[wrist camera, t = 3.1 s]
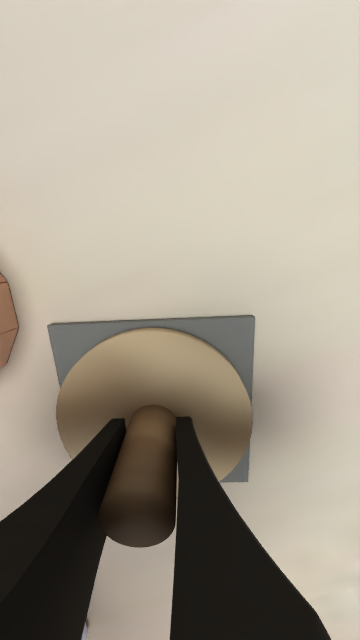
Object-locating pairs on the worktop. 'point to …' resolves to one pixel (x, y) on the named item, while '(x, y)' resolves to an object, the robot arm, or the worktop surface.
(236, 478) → the mat
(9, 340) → the bowl
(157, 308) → the worktop surface
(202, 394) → the lid
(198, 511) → the robot arm
